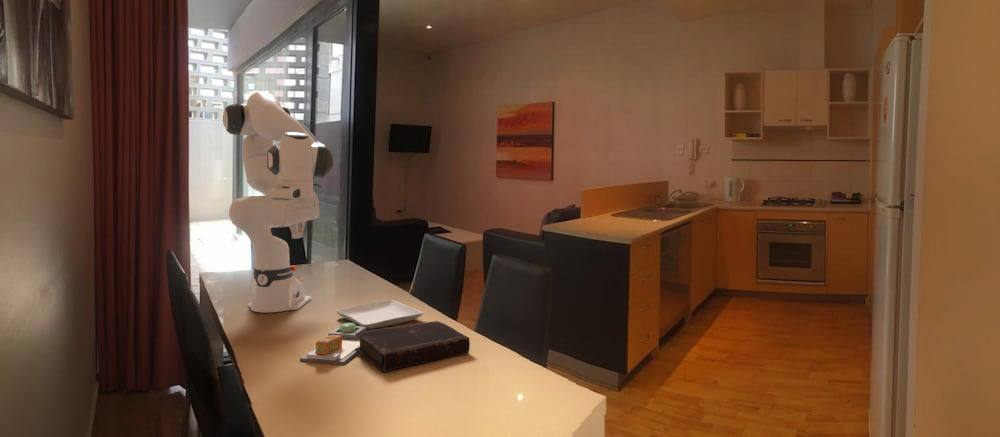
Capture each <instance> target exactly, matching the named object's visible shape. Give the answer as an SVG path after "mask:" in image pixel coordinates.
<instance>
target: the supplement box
mask: <svg viewBox="0 0 1000 437" xmlns="http://www.w3.org/2000/svg"><path fill="white" fill-rule="evenodd" d="M340 347H342V336H341V335H330V336H326V337H324V338H322V339H319V340H317V341H315V348H316V351H315V354H328V353H330V352H332V351H334V350H336V349H338V348H340Z"/></svg>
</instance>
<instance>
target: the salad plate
mask: <svg viewBox="0 0 1000 437" xmlns="http://www.w3.org/2000/svg"><path fill="white" fill-rule="evenodd" d="M335 313H337V315H338V316H340V317H342V318H343V319H346V320H348V321H350V322H351V323H354V324H355V325H357V326H361V327H366V330H376V329H381V328H384V327H385V328H386V327H389V326H393V325H394V326H395V325H399V324H402V323H408V322H410V321H414V320H416V319H418V318H420V317H421V316H422V315H423V314H424V313H423V311H421V310H418V309H416V308H414V307H411V306H410V305H407V304H404V303H401V302H400V301H398V300H397V301H396V300H394V299H387V300H386V299H385V300H381V301H375V302H368V303H364V304H358V305H354V306H348V307H343V308H339V309H335Z"/></svg>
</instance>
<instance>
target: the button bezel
mask: <svg viewBox="0 0 1000 437" xmlns="http://www.w3.org/2000/svg"><path fill="white" fill-rule="evenodd" d="M364 331H367V329H366V327H361V326H360V325H356V331H355V332H354V333H341V332H340V325H339V326H338V327H336V328H334V329H333V330H331V331H330V332H328V334H327V335H328V336H330V335H341V336H342V339H343V340H356V341H359V340H360V337H359V336H357V335H356V334H355V333H358V332H364ZM328 336H327V337H328Z"/></svg>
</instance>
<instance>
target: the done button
mask: <svg viewBox="0 0 1000 437" xmlns="http://www.w3.org/2000/svg"><path fill="white" fill-rule="evenodd" d="M339 326H340V332H341V333H354V332H355V331H356V326H357V324H356V323H354V322H345V323H341V324H339Z"/></svg>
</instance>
